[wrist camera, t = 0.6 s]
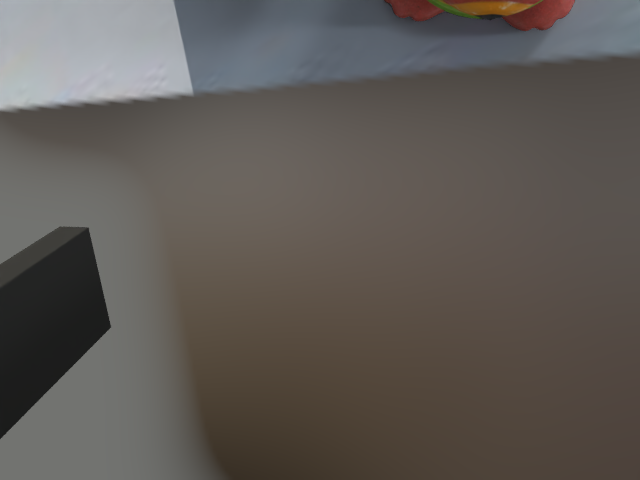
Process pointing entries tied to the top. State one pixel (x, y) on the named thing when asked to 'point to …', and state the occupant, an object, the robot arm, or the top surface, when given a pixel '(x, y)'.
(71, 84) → the top surface
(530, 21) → the stacking bear
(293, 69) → the top surface
